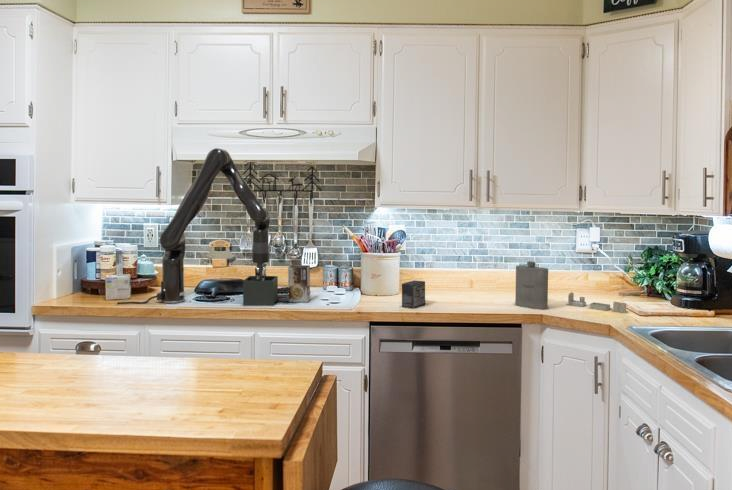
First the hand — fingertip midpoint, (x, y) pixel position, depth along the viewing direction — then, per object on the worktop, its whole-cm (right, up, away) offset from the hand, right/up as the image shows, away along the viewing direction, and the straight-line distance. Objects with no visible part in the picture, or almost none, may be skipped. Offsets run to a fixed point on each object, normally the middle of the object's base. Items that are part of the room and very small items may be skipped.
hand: (260, 288), depth 278 cm
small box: (+69, -7, -5) cm, 69 cm away
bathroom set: (+150, -8, -8) cm, 150 cm away
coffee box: (+17, -6, +4) cm, 19 cm away
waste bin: (0, -6, 0) cm, 6 cm away
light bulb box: (-68, -6, +8) cm, 69 cm away
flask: (+121, -7, -6) cm, 121 cm away
